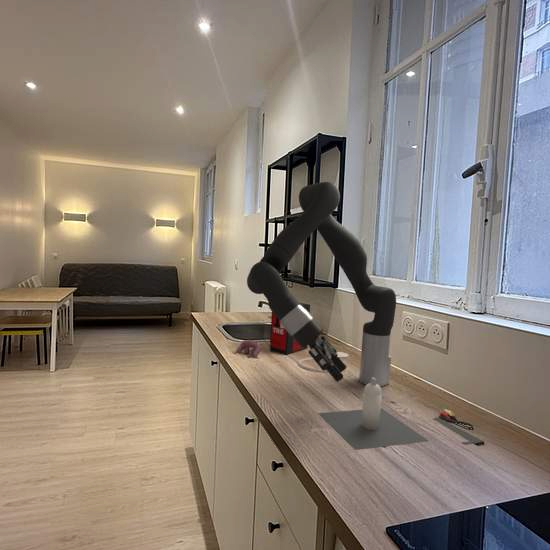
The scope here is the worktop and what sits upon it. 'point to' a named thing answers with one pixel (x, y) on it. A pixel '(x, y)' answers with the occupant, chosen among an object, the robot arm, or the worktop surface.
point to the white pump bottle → (371, 405)
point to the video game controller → (249, 344)
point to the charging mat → (363, 438)
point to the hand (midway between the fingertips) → (342, 374)
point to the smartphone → (461, 433)
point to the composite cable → (451, 418)
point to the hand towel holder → (340, 355)
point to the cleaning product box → (283, 337)
